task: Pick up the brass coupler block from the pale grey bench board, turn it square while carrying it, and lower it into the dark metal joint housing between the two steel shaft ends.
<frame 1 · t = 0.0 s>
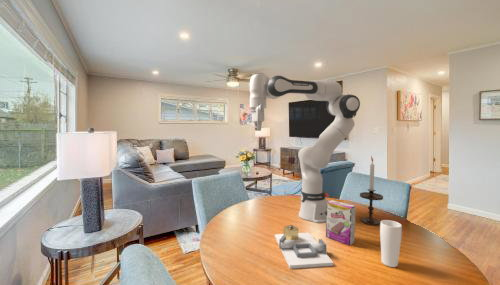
hand: (257, 130, 123), 48 cm above the table, fingers open, 8 cm apart
white cup: (389, 264, 84), on the table
shaft bench: (300, 249, 94), on the table
candlestick: (370, 222, 122), on the table
candy bar box: (339, 240, 102), on the table
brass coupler: (290, 238, 100), point 1 cm above the table, touching shaft bench
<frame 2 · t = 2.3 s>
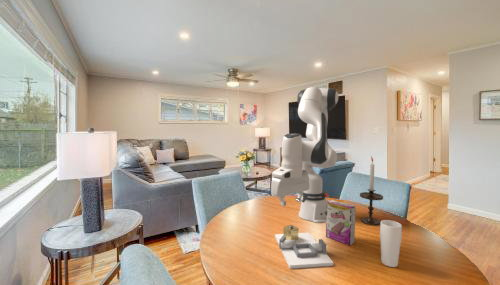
hand: (291, 203, 99), 17 cm above the table, fingers open, 8 cm apart
nothing on the table moved.
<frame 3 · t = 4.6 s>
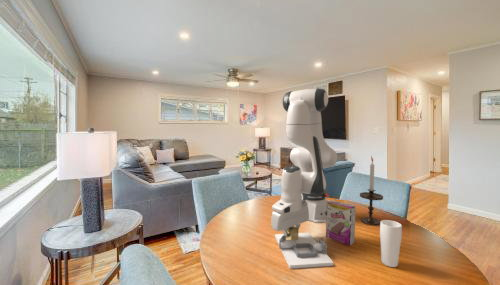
hand: (290, 235, 100), 3 cm above the table, fingers closed on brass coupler, 4 cm apart
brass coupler: (290, 238, 100), point 1 cm above the table, touching gripper, shaft bench
everything else where it was.
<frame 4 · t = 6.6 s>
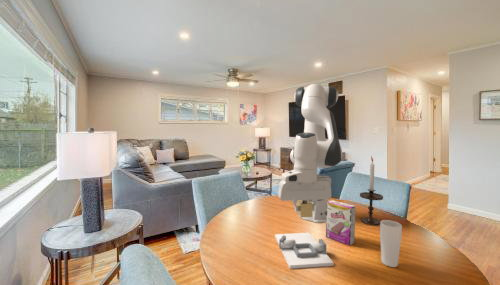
hand: (304, 210, 89), 17 cm above the table, fingers closed on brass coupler, 4 cm apart
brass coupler: (304, 214, 89), point 16 cm above the table, touching gripper
everything else where it was.
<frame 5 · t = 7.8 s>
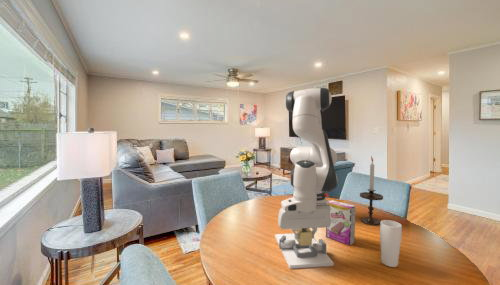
hand: (304, 238, 89), 7 cm above the table, fingers closed on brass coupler, 4 cm apart
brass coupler: (303, 242, 89), point 5 cm above the table, touching gripper
everything else where it was.
when the fingers open (4 cm above the table, at t = 9.0 s): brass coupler drops 1 cm, resting on shaft bench.
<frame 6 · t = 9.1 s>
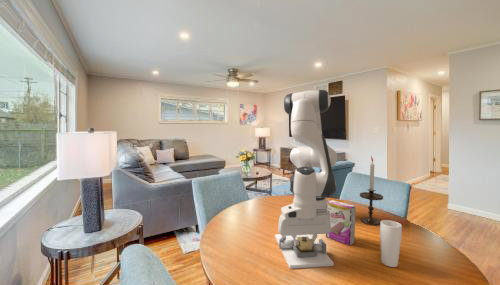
hand: (304, 244, 90), 4 cm above the table, fingers open, 5 cm apart
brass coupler: (304, 251, 90), point 1 cm above the table, touching shaft bench
everything else where it was.
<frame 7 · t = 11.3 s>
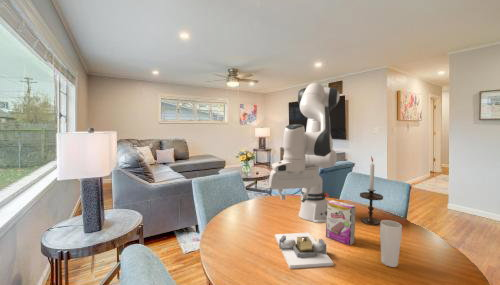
hand: (294, 198, 93), 21 cm above the table, fingers open, 8 cm apart
nothing on the table moved.
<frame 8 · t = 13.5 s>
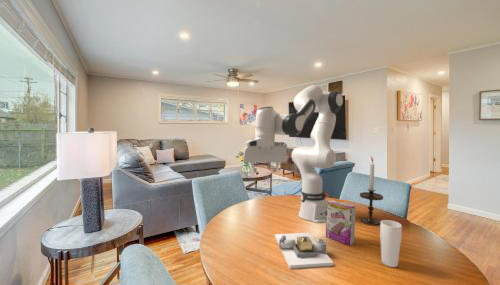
hand: (264, 172, 106), 29 cm above the table, fingers open, 8 cm apart
nothing on the table moved.
at the end: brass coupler 0.1 cm from the target spot on the shaft bench, point 1.2 cm above the shaft bench's base; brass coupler tilted 0°; the gripper is holding nothing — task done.
